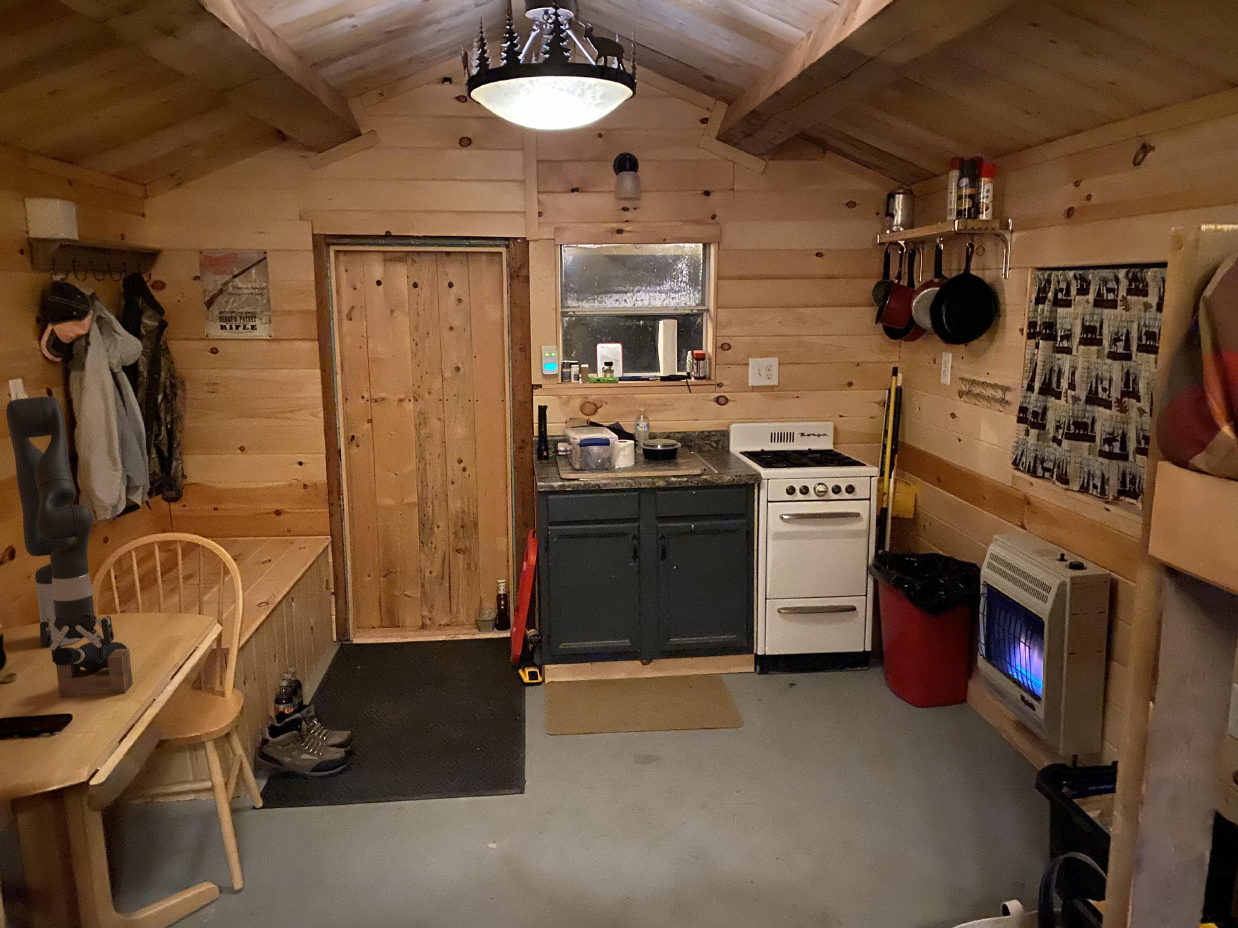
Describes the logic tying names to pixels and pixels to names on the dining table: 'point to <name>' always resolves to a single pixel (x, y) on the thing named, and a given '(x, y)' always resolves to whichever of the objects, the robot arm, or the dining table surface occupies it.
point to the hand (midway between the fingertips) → (80, 662)
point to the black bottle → (85, 655)
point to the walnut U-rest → (97, 677)
